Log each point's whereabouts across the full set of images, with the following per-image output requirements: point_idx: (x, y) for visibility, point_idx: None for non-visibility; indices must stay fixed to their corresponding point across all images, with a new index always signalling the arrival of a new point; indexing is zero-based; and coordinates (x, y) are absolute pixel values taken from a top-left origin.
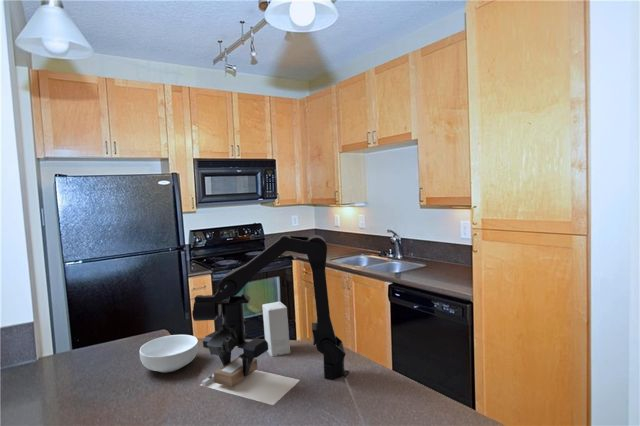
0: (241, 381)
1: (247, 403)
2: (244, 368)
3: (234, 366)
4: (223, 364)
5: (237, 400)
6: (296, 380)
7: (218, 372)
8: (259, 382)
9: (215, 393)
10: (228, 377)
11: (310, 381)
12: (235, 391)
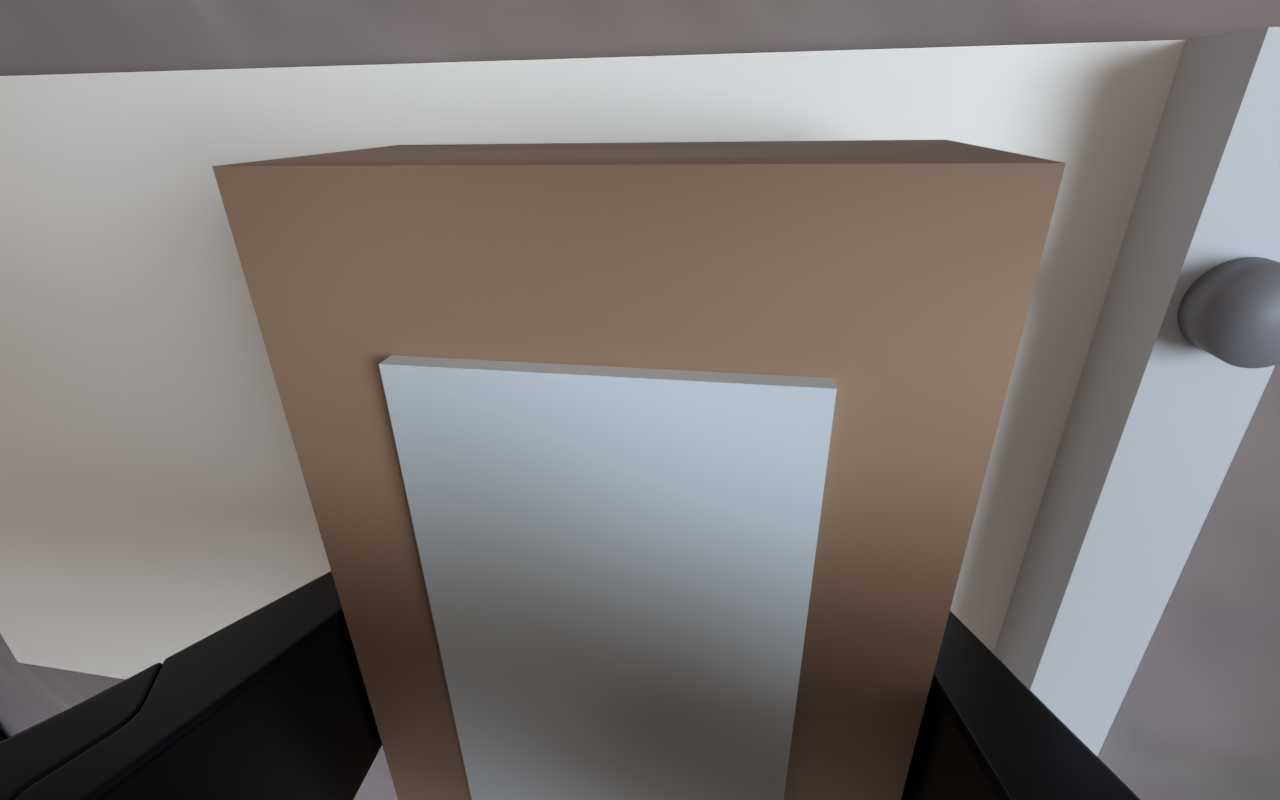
0: None
1: (63, 17)
2: (261, 626)
3: (588, 664)
4: (1013, 706)
5: (253, 13)
6: (33, 648)
7: (853, 242)
8: (307, 520)
9: (800, 16)
10: (351, 160)
11: (16, 674)
12: None
